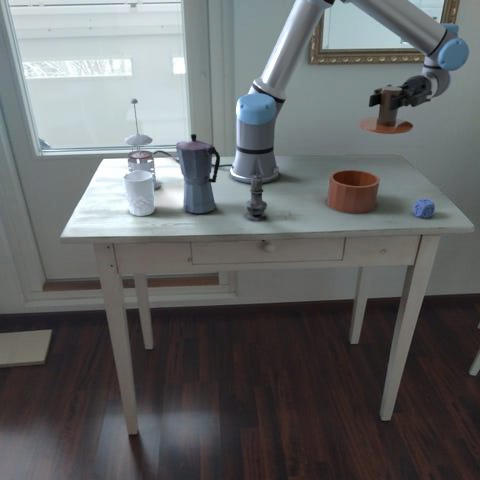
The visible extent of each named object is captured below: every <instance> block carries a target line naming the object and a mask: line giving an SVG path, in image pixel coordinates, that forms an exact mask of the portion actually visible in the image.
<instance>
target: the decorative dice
mask: <svg viewBox="0 0 480 480" xmlns="http://www.w3.org/2000/svg"><path fill="white" fill-rule="evenodd" d="M435 210H436V206H435V203H434V201H433V200H431V199H429V198H419V199H418V200H417V201H416V202H415V203H414V205H413V213H414V215H415V216H416V217H417V218H420V219H428V218H430V217H432V216H433V214H434V213H435Z"/></svg>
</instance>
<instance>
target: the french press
mask: <svg viewBox="0 0 480 480" xmlns="http://www.w3.org/2000/svg"><path fill="white" fill-rule="evenodd" d="M130 104H132V105H133V108H134V116H135V125H136V133H135V134H131V135H129V136H127V137H126V138H125V139H124V143H125V144H126V145H129V146H131V151H129V152H128V153H127V156H128V158H127V165H128V172H132V171H148V172H151V173H152V174H153V183H154V191H155V190H157V189H159V187H160V185H161V184H160V182H158V181H157V178H156V177H157V176H156V167H155V158H154V157H153V152H152V151H150V150H145V149H144V150H143V149H142V150H141V146H142V147H143V146H147V145H150V144H152V143H153V141H154V139H153V138H152V137H150V136H149V135H148V134H142V133H139V128H138V119H137V111H136V104H138V99H136V98H131V99H130ZM133 147H136V150H134V148H133ZM138 161H139V163H138Z"/></svg>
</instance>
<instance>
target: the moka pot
mask: <svg viewBox="0 0 480 480" xmlns="http://www.w3.org/2000/svg"><path fill="white" fill-rule="evenodd" d="M190 139H191V140H181V141H178V142H177V143H176V146H175V150H176V154H177V159H178V160H179V162H178V163H179V167H180V172H181V175H182V176H183V181H184V182H183V209H184V211H185V212H186V213H191V214H205V213H208V212H212V211H214V210H215V208H216V202H215V197H214V192H213V187H212V183H214V184H215V183H216V182H217V177H218V173H219V172H218V171H219V168H220V167H219V165H221V164H220V163H221V155H220V153H219V152H218V151H217V149H216V147H215V146H213V144H212V143H210V142H209V141H205V140H197V134H195V133H193V134H190ZM213 155H214V156H215V162H214V164H215V167H214V168H213V175H212V178H211V173H212V167H213V166H212V164H213Z"/></svg>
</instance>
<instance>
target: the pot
mask: <svg viewBox="0 0 480 480" xmlns="http://www.w3.org/2000/svg"><path fill="white" fill-rule="evenodd" d="M380 182H381V179H380V178H379V176H378V175H376V174H374V173H372V172H369V171H365V170H360V169H341V170H336V171H334V172H332V173H330V176H329V180H328V188H327V196H326V204H327V205H328V206H329V207H330V208H331V209H333V210H334V211H338V212H341V213H345V214H365V213H368V212H372V211H373V210H374V209H375V207H376V204H377V199H378V193H379V187H380Z"/></svg>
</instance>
